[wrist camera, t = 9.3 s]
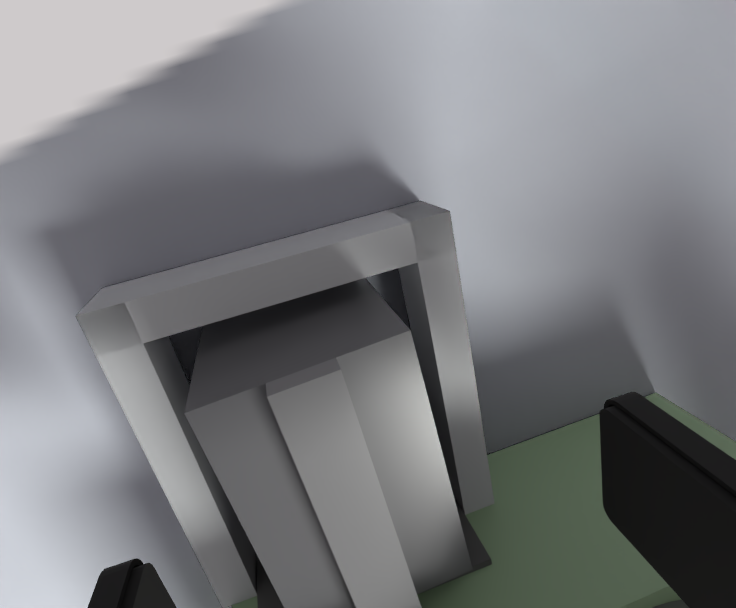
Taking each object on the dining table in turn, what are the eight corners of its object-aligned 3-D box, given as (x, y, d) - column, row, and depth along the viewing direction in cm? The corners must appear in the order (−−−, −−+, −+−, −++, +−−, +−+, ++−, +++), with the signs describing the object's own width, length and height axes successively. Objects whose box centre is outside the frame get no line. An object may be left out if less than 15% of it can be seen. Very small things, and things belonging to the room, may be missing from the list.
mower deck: (661, 134, 14) (1251, 129, 6) (653, 527, 20) (935, 795, 12) (101, 288, 12) (-243, 652, 3) (286, 681, 18) (323, 1151, 10)
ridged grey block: (358, 270, 13) (419, 340, 9) (413, 458, 16) (481, 586, 11) (203, 324, 13) (180, 429, 8) (287, 509, 15) (306, 666, 11)
